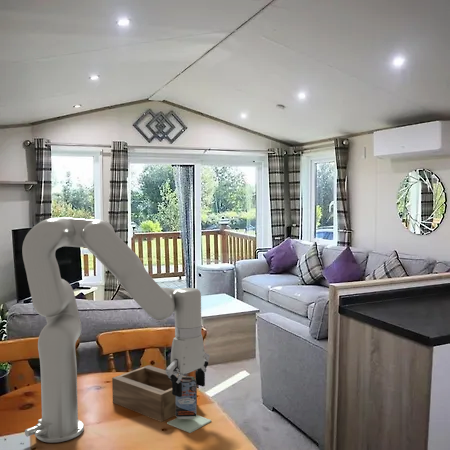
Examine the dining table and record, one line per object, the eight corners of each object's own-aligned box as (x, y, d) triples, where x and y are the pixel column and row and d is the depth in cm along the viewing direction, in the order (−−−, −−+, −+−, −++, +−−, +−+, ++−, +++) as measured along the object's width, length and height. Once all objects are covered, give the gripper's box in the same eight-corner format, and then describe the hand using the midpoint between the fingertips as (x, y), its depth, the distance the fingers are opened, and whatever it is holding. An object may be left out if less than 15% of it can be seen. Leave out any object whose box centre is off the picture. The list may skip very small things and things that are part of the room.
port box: (161, 421, 139) (160, 394, 139) (112, 402, 154) (112, 377, 153) (196, 404, 151) (196, 379, 151) (148, 388, 165) (148, 365, 165)
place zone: (190, 433, 132) (190, 431, 132) (167, 423, 138) (167, 422, 138) (211, 421, 139) (211, 420, 139) (188, 413, 145) (188, 411, 145)
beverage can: (174, 422, 135) (172, 377, 138) (177, 418, 142) (176, 375, 145) (196, 421, 135) (194, 376, 138) (198, 416, 142) (196, 374, 145)
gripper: (198, 323, 147) (199, 378, 147) (157, 336, 133) (157, 396, 134) (217, 327, 142) (218, 384, 143) (176, 340, 129) (177, 403, 129)
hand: (189, 390), depth 138 cm, fingers open, 9 cm apart
